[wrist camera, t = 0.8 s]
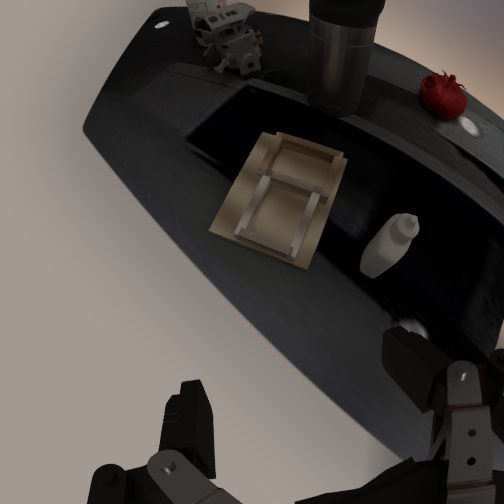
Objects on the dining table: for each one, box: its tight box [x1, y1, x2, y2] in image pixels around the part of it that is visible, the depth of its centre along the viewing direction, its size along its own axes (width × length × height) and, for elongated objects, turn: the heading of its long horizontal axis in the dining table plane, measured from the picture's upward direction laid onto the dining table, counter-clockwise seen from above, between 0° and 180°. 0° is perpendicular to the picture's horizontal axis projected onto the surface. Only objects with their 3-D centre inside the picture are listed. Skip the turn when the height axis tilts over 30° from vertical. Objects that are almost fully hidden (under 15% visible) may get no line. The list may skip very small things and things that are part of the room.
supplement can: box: [186, 0, 227, 47], centre depth 44 cm, size 8×8×15 cm
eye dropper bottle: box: [360, 213, 419, 279], centre depth 27 cm, size 4×6×12 cm
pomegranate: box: [421, 71, 467, 120], centre depth 35 cm, size 10×10×9 cm
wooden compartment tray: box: [209, 132, 348, 272], centre depth 35 cm, size 17×13×3 cm
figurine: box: [193, 3, 264, 80], centre depth 39 cm, size 9×12×15 cm
